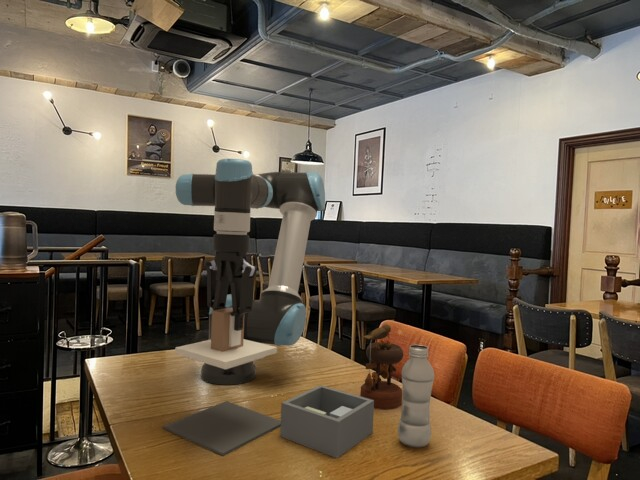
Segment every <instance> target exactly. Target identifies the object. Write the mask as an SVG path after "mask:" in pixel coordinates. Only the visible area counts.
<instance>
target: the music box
mask: <svg viewBox="0 0 640 480" xmlns="http://www.w3.org/2000/svg"><path fill="white" fill-rule="evenodd" d="M391 330H392V328H391V325H389V324H388V323H385V324H382V326H381V327H377V328H375V329H373V330H372V331H370V332H368V333H367V334H366V335H362V338H363V339H366V340H370V343H369V345H367V347H366V349H365V355H366V357H367V358H368V360H369V363H365V370H369V371H368V373H367V376H366V377H365V380H364V383H363V384H362V385H361V386H360V395H359V396H361V397H364V398H368V399H371V400H374V409H377V410H393V409H397V408H400V407H401V406H402V405H403V388H401V387H400V385H398V384H396V383H394V382H392V373H394V372H397V368H396V367H395V366H394V365H396V364H399V363H400V362H401V361H402V359H403V358H404V350H403V348H402V347H401V346H400V345H398V344H395V343H391V340H390V339H389V340H386V341H385V338H386V337H388V338H390V333H391ZM373 340H374V342H372V341H373ZM378 340H380V341H379V342H378ZM372 369H375V371H373V372H372V373H371V370H372ZM382 379H385V380H386V381H385V380H382Z"/></svg>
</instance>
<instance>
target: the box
mask: <svg viewBox="0 0 640 480" xmlns="http://www.w3.org/2000/svg"><path fill="white" fill-rule="evenodd" d="M280 405H281V406H280V408H281V409H280V421H281V426H280V427H279V428H280V432H279V437H281V438H283V439H286V440H289V441H291V442H294V443H297V444H299V445H301V446H304V447H307V448H309V449H311V450H315V451H317V452H319V453H321V454H325V455H328V456H330V457H333V458H335V459H339V458H340V457H341V456H342V455H344V454H345V453H347V452H348V451H349V450H351V449H352V448H353V447H355V446H356V445H358V444H359V443H361V442H362V441H364V440H365V439H366V438H367V437H369V436H370V435H371V434H373V433H374V431H373V430H374V413H375V412H374V411H375V408H374V400H371V399H368V398H364V397H361V396H360V395H356V394H353V393H350V392H345V391H342V390H339V389H336V388H332V387H329V386H324V385H322V384H320V385H317V386H315V387H313V388H311V389H309V390H306V391H305V392H302V393H300V394H297V395H295V396H293V397H291V398H289V399H287V400H284V401H282V402H281V404H280Z"/></svg>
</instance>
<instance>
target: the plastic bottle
mask: <svg viewBox="0 0 640 480" xmlns="http://www.w3.org/2000/svg"><path fill="white" fill-rule="evenodd" d="M408 351H409V352H408V356H409V358H408V359H407V361H405V363H404V364H403V366H402V369H401V383H402V384H401V385H402V405H401V406H402V407H401V413H400V419H399V421H398V427H397V434H398V435H397V436H398V439H399V440H400V442H401V443H402V444H403V445H405V446H408V447H411V448H423V447H426V446H427V445H428V444H429V443H430V441H431V437H432V427H431V418H430V417H431V416H430V412H431V411H430V410H431V409H430V405H431V396H432V390H433V385H434V380H435V371H434V368H433V366H432V365H431V363H430V361H429V360H428V358H429V347H428V346H427V345H422V344H411V345H409V350H408Z"/></svg>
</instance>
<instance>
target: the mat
mask: <svg viewBox="0 0 640 480" xmlns="http://www.w3.org/2000/svg"><path fill="white" fill-rule="evenodd" d="M280 426H281V419H277V418H275V417H272V416H269V415H266V414H263V413H262V412H261V413H260V412H259V411H255V410H252V409H250V408H246V407H244V406H242V405H238V404H237V403H233V402H230V401H228V400H226V401H223V402H220V403H218V404H216V405H213V406H210V407H207V408H206V409H203V410H200V411H198V412H195V413H192V414H191V415H187V416H185V417H183V418H180V419H178V420H174V421H172V422H170V423H167V424H164V425H162V430H166V431H167V432H169V433H173V434H175V436H176V435H177V436H178V437H180V438H183V439H185V440H187V441H189V442H192V443H194V444H196V445H198V446H200V447H203V448H205V449H207V450H209V451H211V452H213V453H215V454H217V455H220V456H222V457H224V456H225V455H228V454H230V453H231V452H232V453H233V450H234V451H236V450H237V449H239V448H241V447H243V446H245V445H246V444H249V443H251V442H253V441H255V440H256V439H258V438H261V437H262V436H265V435H267V434H268V433H270V432H272V431H274V430H276V429H278V428H280Z"/></svg>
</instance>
